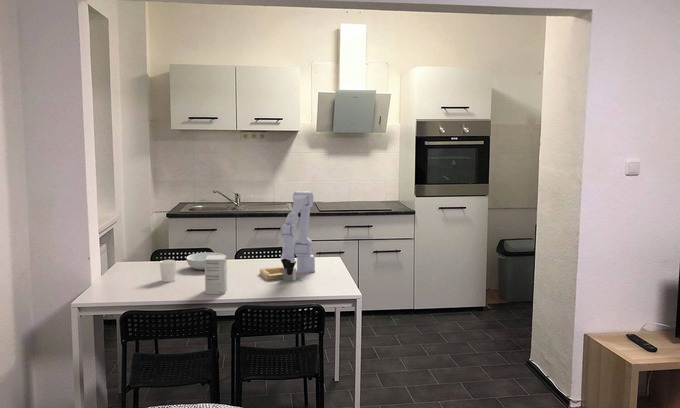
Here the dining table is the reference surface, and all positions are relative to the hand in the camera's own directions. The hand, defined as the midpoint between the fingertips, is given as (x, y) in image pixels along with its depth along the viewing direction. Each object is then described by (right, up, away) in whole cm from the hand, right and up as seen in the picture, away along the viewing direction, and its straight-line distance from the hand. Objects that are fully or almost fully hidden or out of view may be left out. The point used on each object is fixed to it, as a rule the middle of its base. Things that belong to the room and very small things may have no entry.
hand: (288, 273), depth 288 cm
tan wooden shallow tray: (-7, -3, +9) cm, 12 cm away
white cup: (-62, -4, +1) cm, 62 cm away
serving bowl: (-49, -1, +27) cm, 56 cm away
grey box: (0, -3, +1) cm, 3 cm away
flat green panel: (0, -4, +1) cm, 4 cm away
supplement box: (-33, -6, -19) cm, 38 cm away
